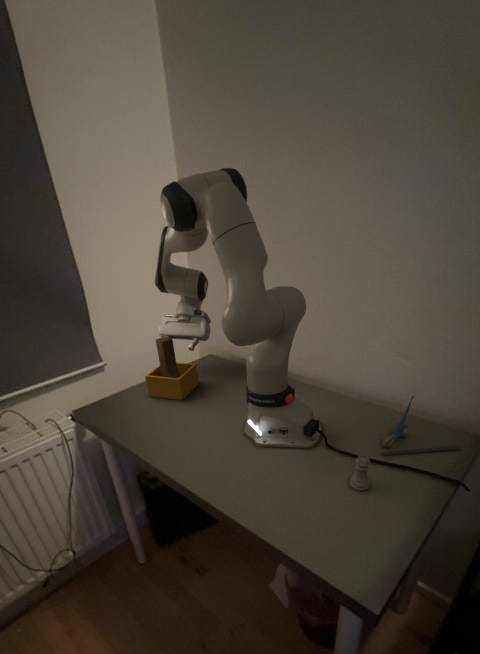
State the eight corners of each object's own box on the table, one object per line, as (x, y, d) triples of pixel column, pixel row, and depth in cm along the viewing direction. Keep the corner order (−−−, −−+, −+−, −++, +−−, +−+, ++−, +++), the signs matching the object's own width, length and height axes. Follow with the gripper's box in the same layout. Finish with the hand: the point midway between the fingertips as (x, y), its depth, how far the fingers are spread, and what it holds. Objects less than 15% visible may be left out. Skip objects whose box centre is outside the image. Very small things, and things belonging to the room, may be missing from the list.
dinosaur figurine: (389, 446, 99) (378, 444, 91) (410, 396, 96) (401, 390, 89) (399, 450, 97) (389, 449, 90) (421, 399, 95) (412, 394, 87)
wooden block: (187, 389, 127) (180, 341, 118) (176, 393, 125) (168, 344, 115) (173, 382, 133) (165, 336, 124) (163, 386, 131) (154, 339, 121)
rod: (457, 450, 90) (458, 448, 90) (385, 457, 90) (385, 454, 89) (456, 449, 91) (457, 447, 90) (384, 455, 90) (384, 453, 90)
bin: (198, 383, 133) (196, 364, 129) (182, 400, 122) (178, 379, 118) (167, 380, 137) (164, 361, 133) (149, 396, 127) (144, 376, 122)
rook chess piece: (365, 478, 83) (370, 451, 79) (372, 491, 79) (377, 463, 75) (346, 479, 83) (350, 452, 79) (352, 492, 79) (356, 465, 75)
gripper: (159, 310, 132) (151, 343, 130) (208, 311, 126) (200, 347, 124) (167, 318, 138) (159, 351, 136) (214, 320, 132) (207, 354, 130)
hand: (179, 349), depth 130 cm, fingers open, 8 cm apart
